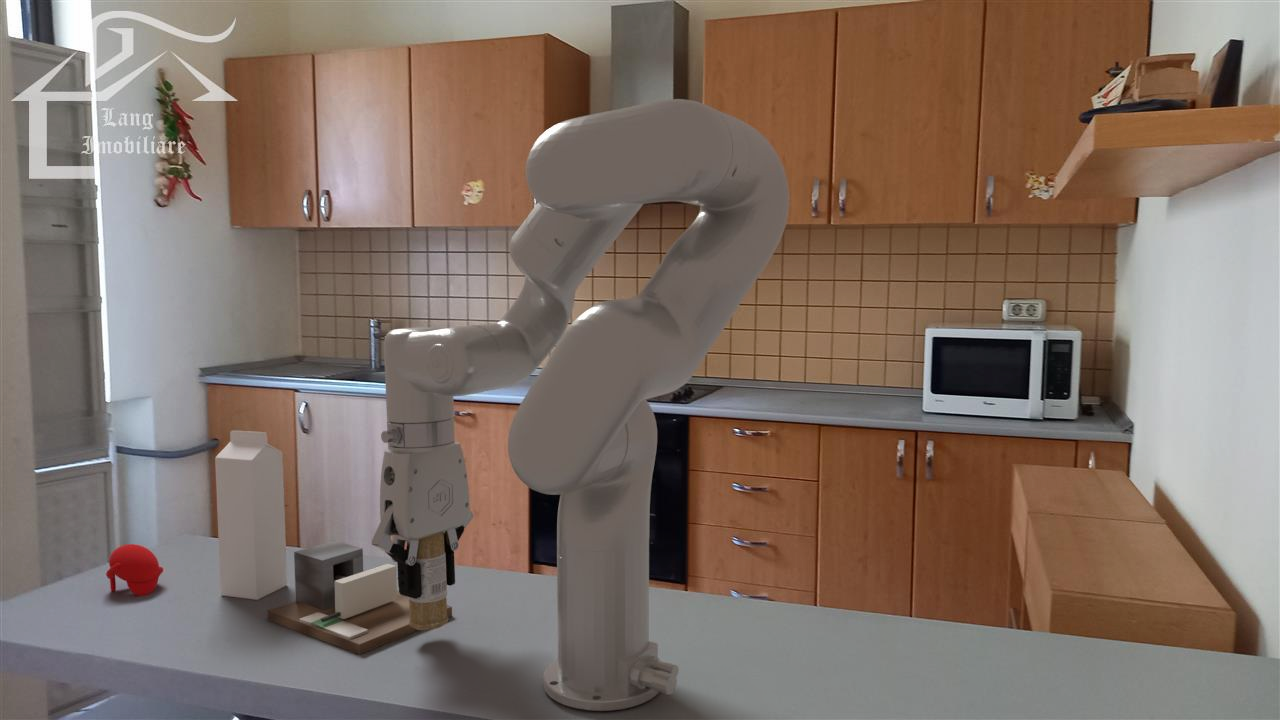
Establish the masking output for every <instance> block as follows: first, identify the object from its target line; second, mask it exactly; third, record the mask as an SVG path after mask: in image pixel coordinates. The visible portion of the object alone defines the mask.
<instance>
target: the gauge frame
mask: <svg viewBox="0 0 1280 720" xmlns="http://www.w3.org/2000/svg"><path fill="white" fill-rule="evenodd" d="M293 553H294V554H293V559H294V561H293V562H294V585H295V587H294V590H295V592H294V593H295V600H294V601H291V602H288V603H284V604H282V605H279V606H277V607H273V608H270V609H267V610H266V612H267V613H266V617H267V621H270V622H272V623H276V624H278V625H281V626H284V627H286V628H288V629H290V630H294V631H297V632H299V633H302V634H304V635H308V636H309V637H312V638H314V639H317V640H320V641H322V642H325V643H328V644H331V645H333V646H336V647H338V648H342V649H344V650H345V651H349V652H352V653H354V654H357V655H359V656H360V655H362V654H364V653H367V652H369V651H372V650H375V649H376V648H378V647H380V646H383V645H385V644H389V643H391V642H394V641H396V640H397V639H401V638H402V637H405V636H407V635H410V634H411V633H414V632H417V631H419V630H418V629H414V628H412V627H411V626H410V625H409V620H410V607H409V597H407V596H404V595H401V594H400V593H399V589H397V600H394V601H392V602H389V603H386V604H383V605H381V606H378V607H375V608H373V609H370V610H367V611H365V612H362V613H359V614H357V615H354V616H351V617H349V618H346V619H342V618H339V617H336V618H333V619H330V620H328V621H325V622H322V621H321V618H323V617H326V616H328V615H331V614H334V613H335V587H334V577H335V576H337V575H341V576H344V577H348V576H351V575H354V574H358V573H361V572H364V550H363V547H359V546H355V545H351V544H347V543H346V542H345V543H344V542H341V541H338V540H331V541H329V542H324V543H322V544H318V545H315V546H311V547H307V548H304V549H300V550H297V551H294V552H293ZM447 616H448V618H450V617H453V607H452V606H451V605H448V604H447Z"/></svg>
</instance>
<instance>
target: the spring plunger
mask: <svg viewBox="0 0 1280 720" xmlns="http://www.w3.org/2000/svg"><path fill="white" fill-rule="evenodd" d="M397 584H398V580H397V565H394V564H391V563H385V564H382V565H380V566H376V567H373V568H371V569H367V570H365V571H364V570H363V572H361V573H358V574H354V575H351V576H348V577H344V576H341V575H337V576H335V577H334V587H335V613H334V614H331V615H328V616H326V617H323V618H321V621H322V622H325V621H328V620H330V619H333V618H336V617H339V618H342V619H346V618H349V617H351V616H354V615H357V614H359V613H362V612H365V611H367V610H370V609H373V608H375V607H378V606H381V605H383V604H386V603H389V602H392V601H394V600H397V590H398V589H397V587H398V586H397Z"/></svg>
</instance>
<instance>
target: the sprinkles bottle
mask: <svg viewBox="0 0 1280 720" xmlns="http://www.w3.org/2000/svg"><path fill="white" fill-rule="evenodd" d="M407 542H408V541H406V543H407ZM415 563H419V564H420V566H421V588H422V595H421V597H420V598H417V599H414V598H411V597H409V607H410V620H409V625H410V626H411V627H412V628H414V629H418V630H417V631H429V630H430V631H431V630H436V629H439V628H441V627H443V626H445V625H446V624H447V623H448V622H449V617H448V616H447V605H448V604H447V603H448V602H447V596H448V589H447V586H448V585H447V580H446V555H445V548H444V532H442V533H439V534H436V535H432V536H429V537H426V538H422V539H419V542H418V550H417V557H416V562H415Z"/></svg>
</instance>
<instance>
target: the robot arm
mask: <svg viewBox="0 0 1280 720" xmlns="http://www.w3.org/2000/svg"><path fill="white" fill-rule="evenodd" d="M525 180H526V184H527V187H528V190H529V193H530V194H531V196H532V197H533V199H534V200H535V201H536V202H537V203H536V204H535V205H534V207H533V208H532V210H531V211H530V213H529V214H528V215H527V217H526V218H525V219H524V221H523V222H522V224H521V225H520V226H519V227H518V228H517V230H516V231H515V233H514V234H513V235H512V237H511V238H510V241H509V246H508V247H509V248H508V249H509V250H508V252H509V255H510V257H511V259H512V262H513V264H514V265H515V267H516V268H517V269H518V270H519V271H520V273H521V274H522V275H524V277H525V280H524V283H523V286H522V289H521V291H519V295H518V296H517V297H516V299H515V301H514V302H513V303H512V305H510V307H509V308H508V310H507V311H506V312H505V313H504V315H503V316H502V318H501V319H500V320H498V321H497V322H496V323H487V324H486V323H485V324H473V325H472V324H471V325H464V326H463V325H462V326H452V327H444V328H439V327H430V326H428V327H425V326H421V327H402V328H400V327H399V328H395V329H392V330H390V331H388V332H387V333H386V335H385V337H384V340H383V358H384V359H383V360H384V378H385V379H384V381H385V383H384V384H385V402H386V404H385V405H386V429H387V430H384V431H382V432H381V433H380V438H381V440H382V442H383V444H387V449H385V450H384V451H383V458H382V464H381V474H380V484H379V485H380V486H379V487H380V488H379V518H380V519H379V520H380V523H379V524H378V527H377V528H376V531H375V532H374V535H373V537H372V539H371V545H372V546H373V547H375V548H376V549H379V550H381V551H383V552H385V554H387V556H389V557H390V558H391V559H392V561H393V562H395V563H396V564H397V565H396V566H397V584H398V586H397V587H398V591H399V593H400V594H401V595H404V596H407V597H411V598H414V599H417V598H420V597H421V595H422V588H421V566H420V564H419V563H415V562H416V557H417V550H418V542H419V539H422V538H426V537H429V536H432V535H436V534H439V533H442V532H444V548H445V555H446V580H447V586H449V587H451V586H453V585H455V583H456V570H455V568H456V567H455V566H456V565H455V551H457V550H458V548H459V541H460V538H462V535H463V534H464V532H465V529H466V528H467V526H468V525H469V524H470V522H471V521H472V520H473V519H474V513H473V511H472V510H471V499H470V488H469V480H468V471H467V466H466V461H465V456H464V453H463V448H462V445H461V443H460V442H459V441H456V435H455V434H456V433H455V432H456V431H455V429H456V428H455V407H454V406H455V405H454V403H455V401H454V400H455V399H454V397H464V396H469V395H470V396H471V395H475V394H481V393H484V392H489V391H494V390H501V389H506V388H507V389H508V388H511V387H514V386H516V385H519V384H520V383H522V382H523V381H525V380H526V379H528V378H529V377H530V376H531V375H532V374H533V373H534V372H535V371H536V370H537V369H538V368H539V367H540V365H541V364H542V363H543V361H544V360H545V359H547V360H546V362H545V363H544V365H543V367H542V368H541V370H540V371H539V373H538V374H537V376H536V378H535V379H534V381H533V383H532V385H531V386H530V388H529V389H528V391H527V393H526V395H524V398H523V399H522V401H521V402H520V404H519V407H518V408H517V410H516V412H515V414H514V417H513V419H512V421H511V424H510V427H509V432H508V437H507V451H508V452H507V453H508V457H509V462H510V465H511V467H512V469H513V471H514V473H515V474H516V477H518V479H519V480H520V481H521V482H522V483H523V484H524V485H525V486H526V487H528V488H529V489H531V490H532V491H535V492H537V493H540V494H545V495H550V496H551V495H552V496H553V495H555V496H556V495H559V502H558V509H557V520H556V521H557V522H556V569H557V570H556V573H557V574H556V575H557V576H556V583H557V584H556V585H557V586H556V587H557V588H556V589H557V590H556V592H557V593H556V594H557V602H556V603H557V607H556V608H557V609H556V610H557V658H556V659H555V660H553V661H551V662H550V664H549V665H547V666H546V667H545V670H544V671H543V674H542V675H543V676H542V682H543V683H542V685H543V686H542V687H543V689H544V691H545V693H546V695H548V697H550V698H551V699H553V700H554V701H556V702H557V703H559V704H560V705H561V704H562V705H563V706H566V707H569V708H574V709H578V710H584V711H591V712H592V711H595V712H610V711H618V710H625V709H629V708H633V707H637V706H639V705H642V704H645V703H647V702H648V701H650V700H652V699H653V698H654V697H656V696H657V695H658V694H659V693H662V694H665V695H669V696H670V695H672V694H673V693H674V691H675V690H676V688H677V677H678V675H679V666H678V665H677V664H675V663H674V664H673V663H670V662H666V661H661V660H660V658H659V656H658V654H659V652H658V651H659V649H658V647H659V644H658V643H657V642H653V641H650V514H651V513H650V509H651V508H650V507H651V505H650V504H651V491H652V481H653V473H654V467H655V461H656V455H657V448H658V447H657V446H658V427H657V420H656V415H655V414H654V411H653V408H652V407H651V405H650V403H649V402H648V400H649V399H654V398H655V397H659V396H660V397H661V396H664V395H667V394H670V393H672V392H675V391H677V390H678V389H680V388H682V387H683V386H685V385H686V384H687V383H689V381H690V379H692V377H693V376H694V374H695V372H696V371H697V369H698V368H699V367H700V365H701V364H702V363H703V361H704V359H705V357H706V356H707V355H708V352H709V351H710V350H711V348H712V347H713V346H714V344H715V342H717V340H718V338H720V337H719V336H721V334H722V332H723V330H725V328H726V327H727V325H728V324H729V322H730V321H731V319H732V317H733V316H734V315H735V312H736V311H737V309H738V308H739V307H740V305H741V303H742V301H743V300H744V299H745V297H746V295H747V294H749V293H748V292H750V290H751V288H752V287H753V285H754V284H755V283H756V281H757V280H758V278H759V277H760V275H761V274H762V273H763V271H764V270H765V268H766V267H767V265H768V264H769V262H770V260H771V258H772V257H773V256H774V253H775V251H777V250H776V249H777V248H778V246H779V244H780V242H781V240H782V237H783V235H784V232H785V229H786V225H787V221H788V216H789V210H790V188H789V181H788V178H787V174H786V171H785V168H784V165H783V163H782V161H781V159H780V157H779V155H778V153H777V151H776V149H775V148H774V146H773V145H772V144H771V143H770V141H769V140H768V139H767V138H766V137H765V136H764V135H763V134H762V132H761V133H760V131H758V130H757V129H756V128H754V127H753V126H752V125H750V124H748V122H745V121H743V120H742V119H739V118H737V117H735V116H733V115H731V114H728V113H725V112H723V111H720V110H718V109H716V108H714V107H712V106H710V105H708V104H705V103H702V102H699V101H696V100H691V99H685V98H684V99H683V98H681V99H680V98H673V99H671V98H670V99H662V100H656V101H651V102H646V103H641V104H636V105H633V106H628V107H623V108H618V109H613V110H608V111H603V112H602V111H601V112H597V113H593V114H587V115H583V116H578V117H575V118H570V119H566V120H564V121H561V122H558V123H556V124H554V125H552V126H550V127H549V128H548V129H546V130H545V131H544V132H543V133H542V134H541V135H539V137H538V138H537V139H536V140H535V142H534V143H533V145H532V148H531V149H530V151H529V154H528V156H527V160H526V164H525ZM663 202H679V203H684V204H689V205H695V206H699V207H700V208H699V212H698V214H697V216H696V218H695V219H694V221H692V223H691V224H690V225H689V227H687V228H686V230H684V231H683V233H682V234H681V235H679V237H678V238H677V239H676V240H675V241H674V242H673V244H672V245H671V246H670V247H669V249H668V250H667V251H666V253H665V255H664V256H663V258H662V260H661V262H660V263H659V265H658V268H656V269H655V272H654V273H653V274H652V276H651V277H650V279H649V280H648V281H647V283H646V284H645V285H644V286H643V288H642V289H641V290H640V291H639V292H638V294H636V295H635V296H633V297H631V298H618V299H616V298H615V299H609V300H605V301H601V302H598V303H596V304H594V305H592V306H591V307H589V308H588V309H586V310H585V311H584V312H582V313H581V314H579V316H578V317H576V319H575V320H574V321H573V322H572V323H571V324H570V325H569V322H570V319H571V316H572V313H573V309H574V306H575V298H576V292H577V289H578V288H579V287H580V285H581V284H582V282H584V280H585V279H586V277H588V275H589V273H591V271H592V270H593V269H594V267H595V266H596V264H597V263H598V262H599V261H600V259H601V258H602V257H603V256H604V255H605V253H606V252H607V251H608V249H610V247H611V246H612V245H613V244H614V242H615V241H616V239H617V238H618V237H619V236H620V235H621V233H622V232H623V231H624V229H625V228H626V227H627V226H628V224H629V223H630V221H632V219H633V218H635V216H636V215H637V213H638V212H639V211H640V209H641V208H642V206H643V205H644V204H653V203H663ZM568 325H569V326H568ZM550 353H551V354H550ZM548 356H549V357H548ZM547 357H548V358H547ZM392 536H394V541H393V540H392ZM407 541H408V542H407ZM405 545H406V548H405Z"/></svg>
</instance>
